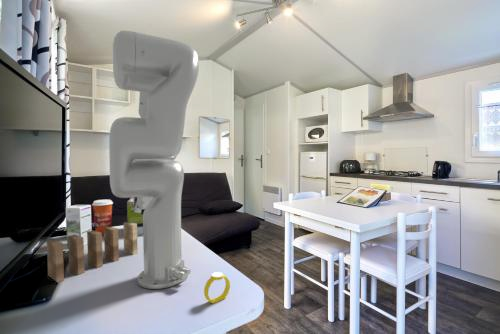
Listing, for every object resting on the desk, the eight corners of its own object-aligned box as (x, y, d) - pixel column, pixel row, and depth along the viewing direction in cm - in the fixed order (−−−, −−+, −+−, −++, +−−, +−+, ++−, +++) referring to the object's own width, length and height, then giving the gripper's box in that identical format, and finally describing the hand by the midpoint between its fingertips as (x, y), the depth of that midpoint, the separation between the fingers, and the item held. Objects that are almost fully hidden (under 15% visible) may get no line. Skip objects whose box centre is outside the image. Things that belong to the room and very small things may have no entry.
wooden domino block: (63, 280, 66) (62, 242, 65) (56, 282, 64) (55, 244, 64) (55, 275, 68) (54, 239, 68) (48, 278, 67) (46, 241, 67)
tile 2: (102, 266, 74) (101, 232, 74) (97, 268, 73) (96, 234, 73) (93, 262, 77) (92, 230, 76) (88, 264, 75) (87, 231, 75)
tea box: (132, 227, 116) (132, 195, 115) (156, 225, 119) (155, 194, 118) (127, 237, 102) (126, 200, 101) (153, 234, 105) (153, 199, 104)
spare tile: (137, 253, 84) (137, 223, 84) (133, 254, 83) (132, 224, 82) (128, 250, 87) (127, 221, 86) (124, 251, 85) (123, 222, 85)
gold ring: (224, 294, 59) (226, 269, 59) (231, 299, 57) (232, 273, 57) (201, 301, 55) (203, 274, 55) (207, 307, 53) (209, 279, 53)
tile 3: (84, 272, 70) (83, 237, 70) (78, 275, 69) (77, 239, 68) (75, 268, 73) (74, 234, 72) (69, 270, 71) (68, 236, 71)
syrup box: (92, 241, 96) (91, 204, 95) (80, 247, 90) (79, 207, 89) (79, 241, 96) (77, 204, 96) (66, 246, 91) (65, 207, 90)
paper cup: (93, 237, 101) (92, 203, 101) (92, 232, 108) (91, 200, 107) (114, 234, 105) (114, 201, 105) (113, 229, 112) (112, 198, 111)
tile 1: (118, 260, 79) (118, 228, 78) (113, 261, 77) (113, 229, 77) (109, 256, 81) (109, 226, 81) (104, 258, 80) (103, 227, 79)
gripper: (135, 178, 82) (136, 233, 83) (171, 175, 95) (172, 223, 95) (122, 177, 86) (123, 230, 86) (158, 174, 98) (159, 220, 99)
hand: (148, 226), depth 91 cm, fingers closed
